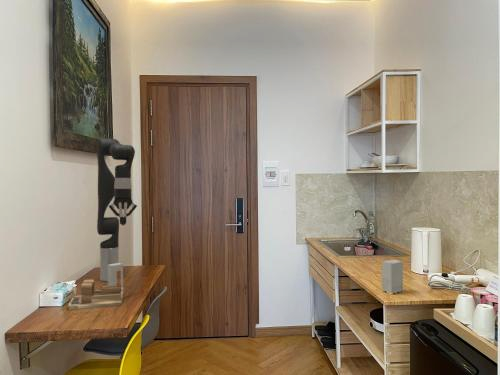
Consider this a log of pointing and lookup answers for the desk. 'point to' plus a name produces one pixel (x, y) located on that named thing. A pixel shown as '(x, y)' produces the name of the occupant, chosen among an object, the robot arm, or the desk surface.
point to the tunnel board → (94, 298)
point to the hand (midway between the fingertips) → (123, 225)
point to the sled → (113, 286)
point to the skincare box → (114, 273)
